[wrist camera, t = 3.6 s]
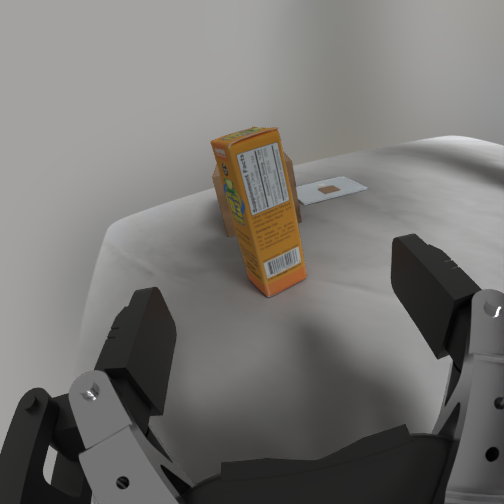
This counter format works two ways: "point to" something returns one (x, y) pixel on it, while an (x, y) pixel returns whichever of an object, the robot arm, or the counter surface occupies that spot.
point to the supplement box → (261, 207)
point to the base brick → (224, 204)
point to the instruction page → (327, 189)
